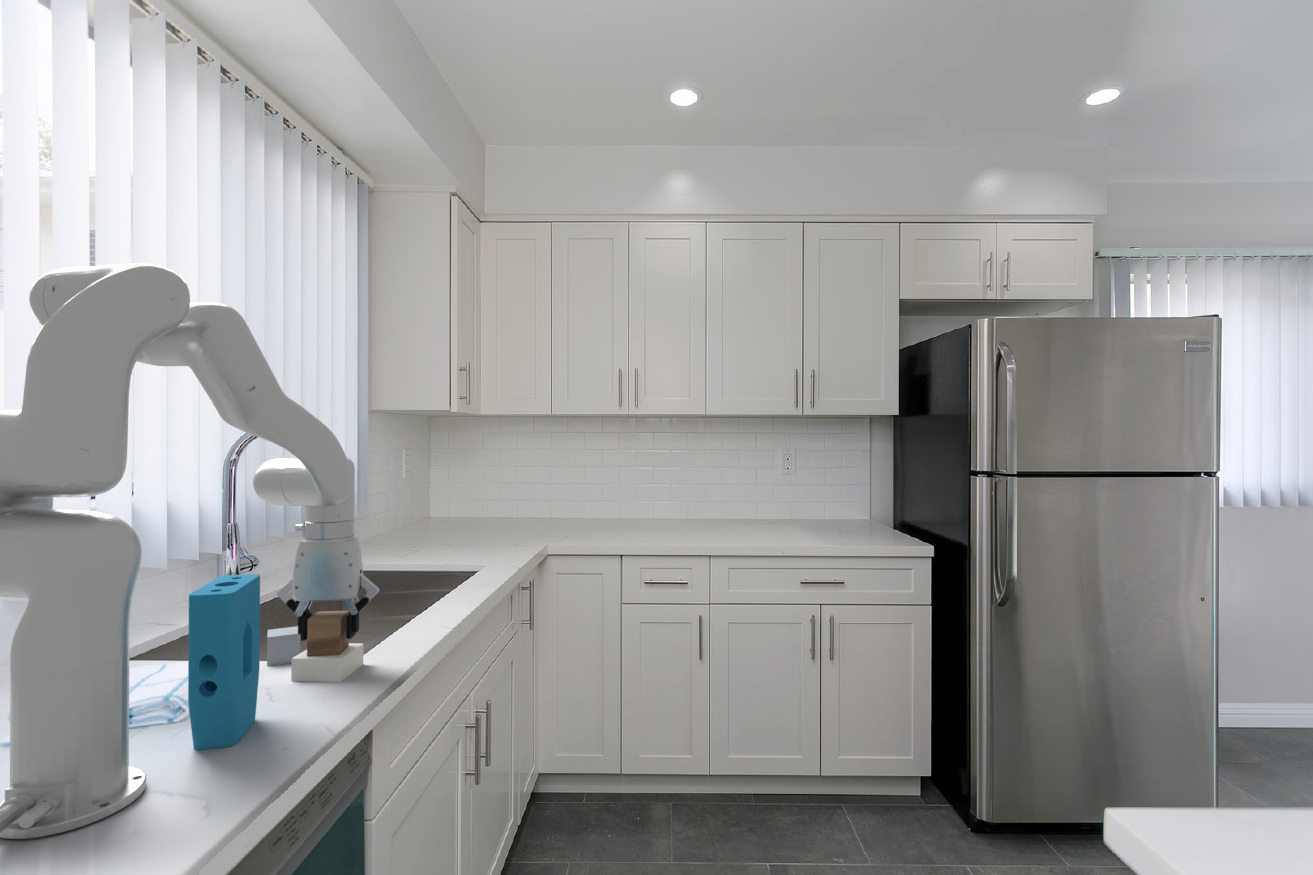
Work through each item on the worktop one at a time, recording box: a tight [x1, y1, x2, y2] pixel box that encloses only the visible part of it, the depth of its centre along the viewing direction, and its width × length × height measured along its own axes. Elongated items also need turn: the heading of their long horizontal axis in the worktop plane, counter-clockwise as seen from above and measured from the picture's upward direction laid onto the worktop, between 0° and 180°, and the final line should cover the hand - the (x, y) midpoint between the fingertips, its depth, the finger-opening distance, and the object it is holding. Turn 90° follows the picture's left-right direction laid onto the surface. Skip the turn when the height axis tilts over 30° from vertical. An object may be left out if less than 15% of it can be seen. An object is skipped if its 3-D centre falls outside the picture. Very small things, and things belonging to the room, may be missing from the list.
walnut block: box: [306, 610, 350, 656], centre depth 110 cm, size 5×5×6 cm
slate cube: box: [266, 625, 301, 667], centre depth 116 cm, size 5×5×5 cm
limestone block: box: [290, 642, 364, 683], centre depth 110 cm, size 8×8×4 cm
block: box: [187, 573, 261, 751], centre depth 87 cm, size 12×5×20 cm, turn 16°
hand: (328, 636), depth 110 cm, fingers open, 6 cm apart
